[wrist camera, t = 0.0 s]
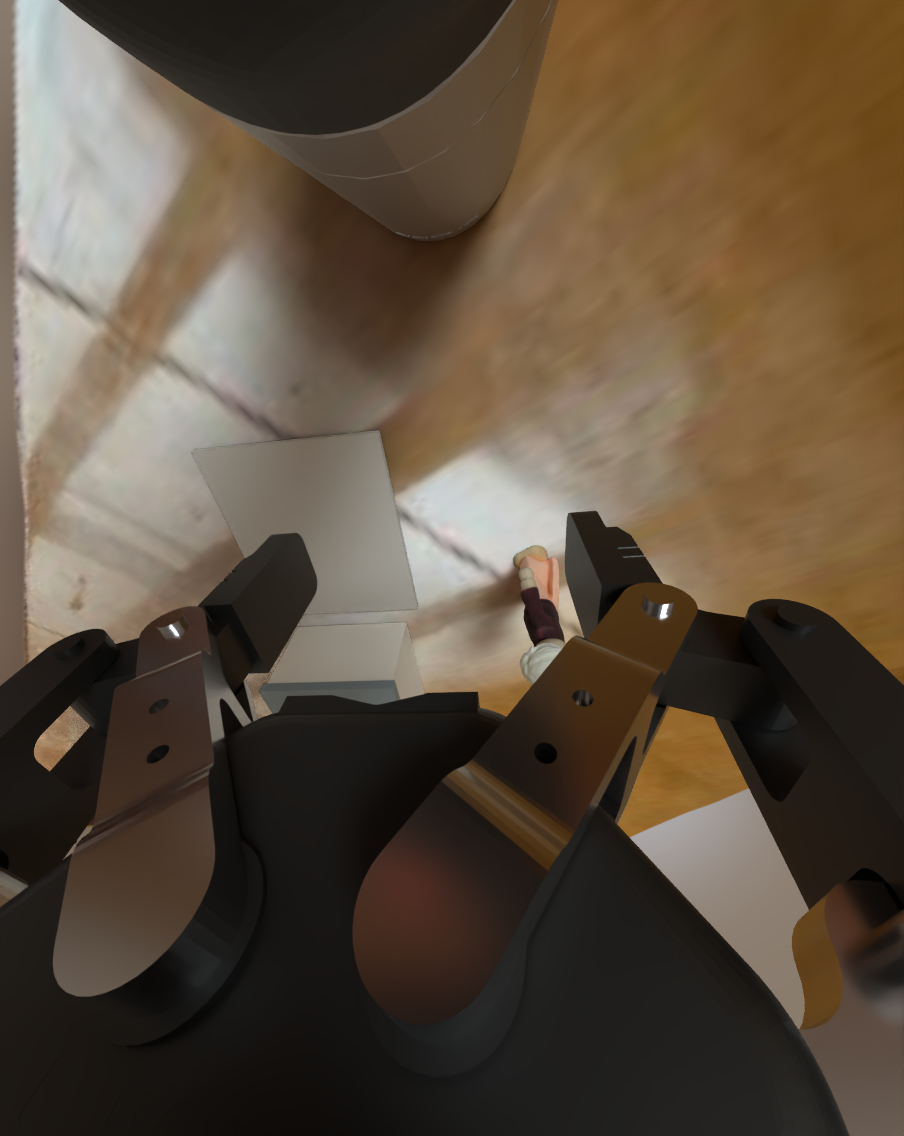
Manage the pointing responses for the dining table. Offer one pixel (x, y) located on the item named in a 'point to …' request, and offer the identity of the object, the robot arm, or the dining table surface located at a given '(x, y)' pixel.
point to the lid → (331, 691)
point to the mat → (319, 513)
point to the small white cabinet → (351, 656)
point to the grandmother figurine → (539, 609)
